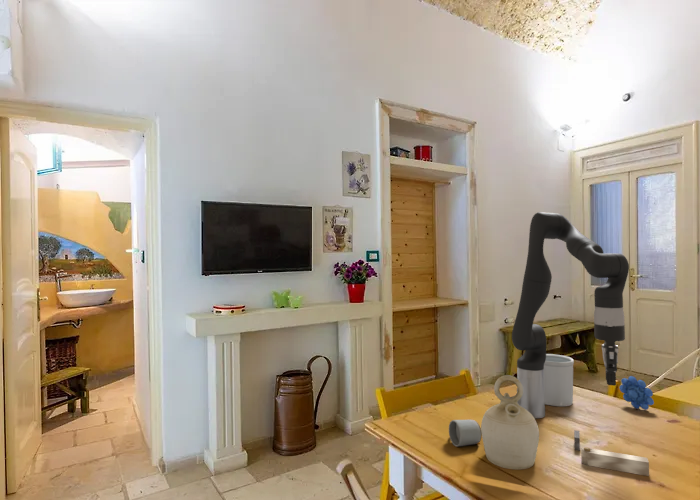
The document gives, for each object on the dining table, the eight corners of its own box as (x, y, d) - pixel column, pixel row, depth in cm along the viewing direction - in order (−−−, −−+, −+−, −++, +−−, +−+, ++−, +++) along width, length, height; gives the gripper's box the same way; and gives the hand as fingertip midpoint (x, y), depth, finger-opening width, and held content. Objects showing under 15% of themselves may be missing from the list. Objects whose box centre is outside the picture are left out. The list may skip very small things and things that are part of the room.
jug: (534, 482, 113) (532, 385, 113) (475, 468, 121) (473, 377, 122) (543, 459, 126) (541, 372, 126) (489, 447, 134) (487, 366, 135)
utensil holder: (576, 398, 179) (575, 355, 179) (573, 409, 166) (572, 363, 166) (537, 393, 186) (536, 352, 187) (532, 403, 174) (531, 359, 174)
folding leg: (581, 464, 120) (581, 449, 120) (581, 459, 122) (581, 445, 122) (649, 476, 112) (648, 460, 113) (647, 471, 115) (647, 455, 115)
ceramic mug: (483, 447, 134) (483, 421, 135) (460, 450, 132) (459, 425, 132) (465, 434, 144) (464, 411, 145) (443, 437, 142) (442, 414, 142)
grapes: (614, 406, 168) (614, 375, 169) (622, 403, 172) (621, 372, 173) (649, 415, 159) (648, 382, 159) (656, 411, 163) (655, 379, 163)
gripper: (593, 319, 133) (594, 375, 132) (595, 325, 120) (596, 388, 120) (622, 320, 129) (623, 378, 129) (627, 327, 117) (629, 391, 116)
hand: (610, 382), depth 124 cm, fingers open, 3 cm apart
